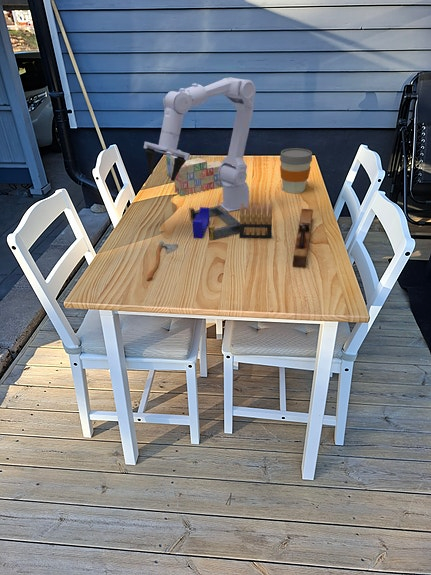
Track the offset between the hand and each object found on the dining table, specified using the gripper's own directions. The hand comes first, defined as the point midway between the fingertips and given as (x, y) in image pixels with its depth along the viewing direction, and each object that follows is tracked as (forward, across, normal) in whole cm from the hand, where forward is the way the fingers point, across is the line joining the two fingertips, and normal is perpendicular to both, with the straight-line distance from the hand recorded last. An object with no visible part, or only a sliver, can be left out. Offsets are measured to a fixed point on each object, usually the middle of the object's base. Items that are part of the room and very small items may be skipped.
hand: (161, 177), depth 136 cm
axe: (+23, +10, -13) cm, 28 cm away
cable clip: (+15, +15, +7) cm, 22 cm away
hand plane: (+8, +49, +4) cm, 50 cm away
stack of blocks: (+6, +5, +44) cm, 45 cm away
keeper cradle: (+13, +19, +11) cm, 25 cm away
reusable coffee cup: (-4, +42, +47) cm, 63 cm away
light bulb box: (+6, -8, +56) cm, 57 cm away
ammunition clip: (+11, +34, +4) cm, 36 cm away
